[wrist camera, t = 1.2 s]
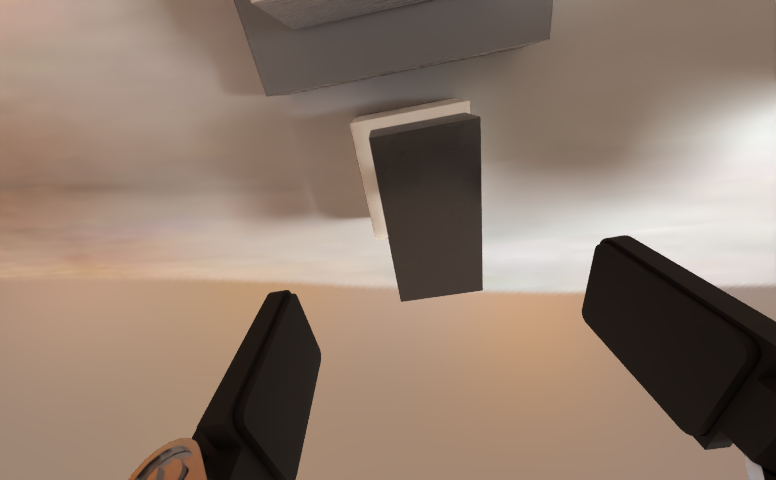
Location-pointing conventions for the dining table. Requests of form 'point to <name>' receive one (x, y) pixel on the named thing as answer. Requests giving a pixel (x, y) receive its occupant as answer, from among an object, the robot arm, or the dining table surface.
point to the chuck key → (432, 203)
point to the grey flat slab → (387, 40)
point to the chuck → (323, 9)
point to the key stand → (386, 119)
